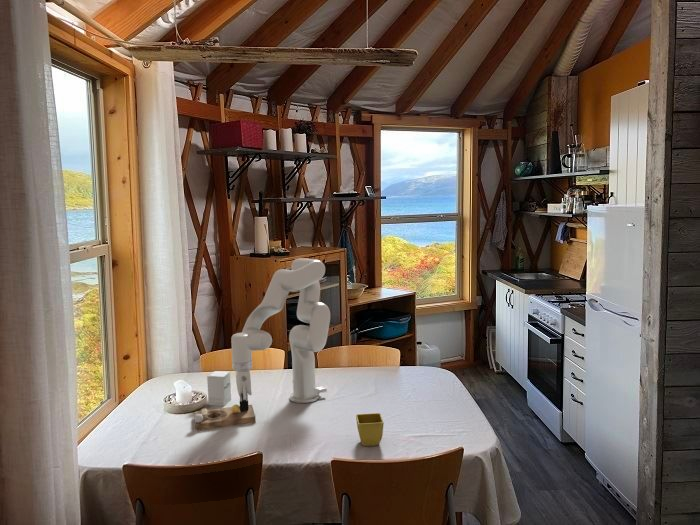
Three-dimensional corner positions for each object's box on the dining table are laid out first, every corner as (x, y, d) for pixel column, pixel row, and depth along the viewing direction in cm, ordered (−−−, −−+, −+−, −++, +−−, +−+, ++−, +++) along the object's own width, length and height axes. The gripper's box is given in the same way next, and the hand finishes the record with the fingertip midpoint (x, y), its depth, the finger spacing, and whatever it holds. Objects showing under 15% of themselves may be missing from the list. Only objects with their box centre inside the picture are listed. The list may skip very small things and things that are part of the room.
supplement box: (224, 406, 225) (223, 376, 223) (208, 405, 226) (206, 376, 225) (231, 399, 232) (230, 371, 230) (215, 398, 233) (214, 370, 232)
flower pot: (356, 438, 192) (355, 413, 191) (380, 436, 192) (380, 412, 191) (358, 449, 183) (358, 424, 182) (384, 448, 184) (383, 422, 183)
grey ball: (203, 420, 204) (202, 412, 204) (203, 423, 201) (202, 415, 201) (194, 421, 203) (193, 413, 203) (194, 424, 200) (194, 416, 200)
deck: (252, 410, 219) (251, 399, 219) (255, 422, 207) (255, 411, 206) (195, 417, 213) (195, 406, 213) (195, 430, 201) (195, 419, 200)
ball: (240, 408, 213) (236, 401, 212) (241, 411, 210) (237, 404, 209) (233, 412, 212) (229, 406, 211) (234, 415, 209) (230, 409, 208)
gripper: (254, 369, 204) (256, 416, 206) (250, 358, 218) (251, 402, 220) (233, 371, 201) (236, 419, 203) (231, 360, 216) (233, 405, 218)
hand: (244, 410), depth 212 cm, fingers closed
